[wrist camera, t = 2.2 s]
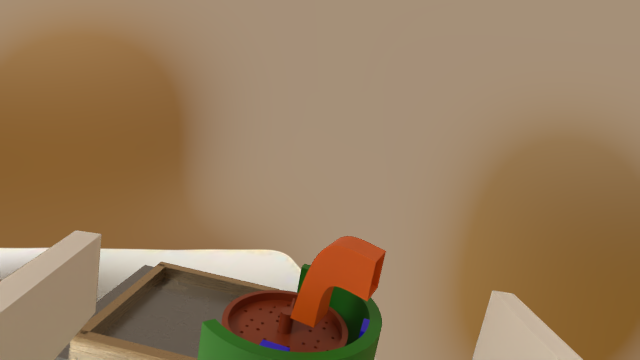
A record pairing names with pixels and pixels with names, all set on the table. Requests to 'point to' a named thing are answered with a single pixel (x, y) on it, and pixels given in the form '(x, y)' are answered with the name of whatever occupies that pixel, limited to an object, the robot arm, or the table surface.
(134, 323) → the plate
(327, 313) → the green cylindrical holder
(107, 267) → the table surface
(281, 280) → the table surface
